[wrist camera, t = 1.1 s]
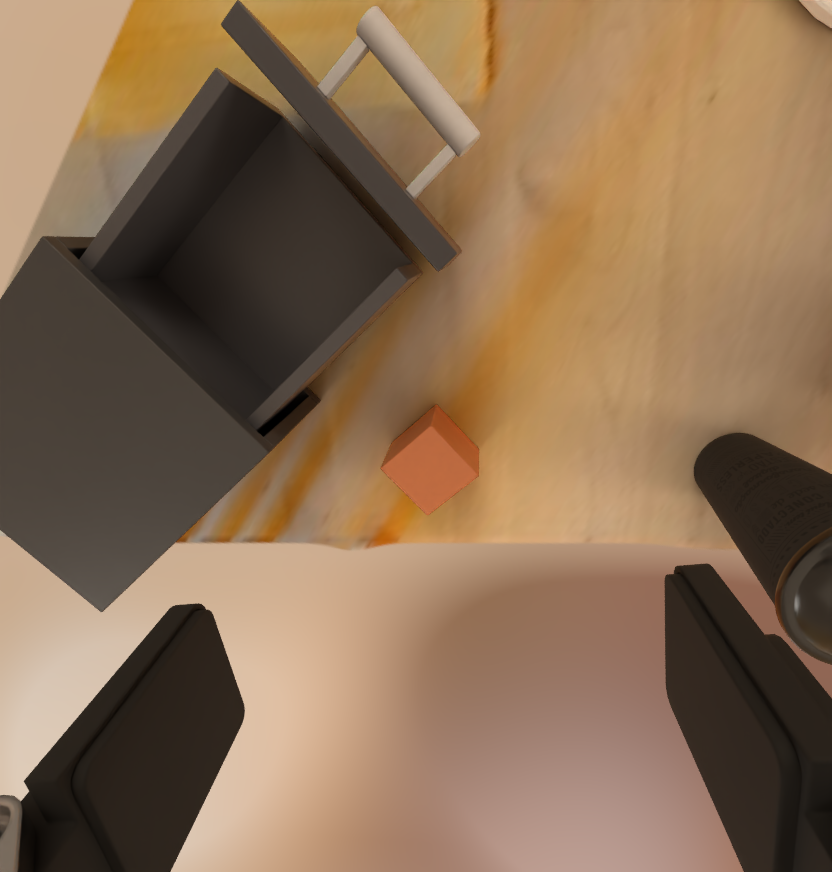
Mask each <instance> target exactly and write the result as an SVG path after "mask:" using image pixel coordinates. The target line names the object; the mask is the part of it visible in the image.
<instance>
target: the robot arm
mask: <svg viewBox="0 0 832 872" xmlns="http://www.w3.org/2000/svg"><path fill="white" fill-rule="evenodd" d="M799 1H800V2H801V3H802V4H803V6H804V7H805V8H806V9H807V10H808V11H809V12H810V13H811V14H812V15H813V16H814V17H815V18H816V19H817V20H819V21H821V22H822V23H824V24H825V25H827V26H829V27H830V28H832V0H799ZM665 655H666V657H665V659H666V690H667V695H668V699H669V702H670V705H671V708H672V710H673V712H674V715H675V717H676V719H677V721H678V724H679V726H680V728H681V730H682V733H683V735H684V737H685V739H686V742H687V744H688V746H689V748H690V751H691V753H692V755H693V758H694V760H695V762H696V764H697V767H698V769H699V771H700V773H701V775H702V778H703V780H704V782H705V785H706V787H707V789H708V791H709V793H710V796H711V798H712V800H713V803H714V805H715V807H716V810H717V812H718V814H719V816H720V818H721V821H722V823H723V825H724V827H725V830H726V832H727V834H728V836H729V839H730V841H731V843H732V846H733V848H734V850H735V852H736V855H737V857H738V859H739V862H740V864H741V866H742V868H743V871H744V872H832V698H831V697H830V696H829V695H828V693H827V692H826V691H825V690H824V688H823V687H822V686H821V685H820V684H819V682H818V681H817V680H816V679H815V677H814V676H813V675H812V674H811V672H810V671H809V670H808V669H807V667H806V666H805V665H804V664H803V663H802V661H801V660H800V659H799V658H798V656H797V655H796V654H795V653H794V651H793V650H792V649H791V648H790V646H789V645H788V644H787V643H786V642H785V641H784V640H783V639H782V638H781V637H779V636H777V635H775V634H770V635H764V633H763V632H762V631H761V629H760V628H759V627H758V626H757V624H756V623H755V622H754V620H752V618H751V617H750V615H749V614H748V613H747V611H746V610H745V609H744V607H743V606H742V605H741V603H740V602H739V601H738V600H737V598H736V597H735V596H734V594H733V593H732V592H731V591H730V589H729V588H728V587H727V585H726V584H725V583H724V581H723V580H722V579H721V577H720V576H719V575H718V574H717V572H716V571H715V570H714V568H713V567H712V566H711V565H709V564H696V565H684V566H676V567H675V570H674V574H669V575H666V577H665ZM244 712H245V710H244V703H243V700H242V697H241V694H240V691H239V688H238V686H237V683H236V680H235V677H234V674H233V671H232V668H231V666H230V662H229V660H228V657H227V654H226V651H225V648H224V645H223V642H222V639H221V637H220V634H219V631H218V628H217V625H216V622H215V619H214V616H213V614H212V612H211V611H210V610H206V609H205V607H204V606H203V605H202V604H187V605H175V606H173V607H171V608H170V609H169V610H168V611H167V613H166V614H165V615H164V616H163V617H162V618H161V620H160V621H159V622H158V623H157V624H156V625H155V627H154V628H153V629H152V630H151V631H150V633H149V634H148V635H147V636H146V637H145V638H144V640H143V641H142V642H141V643H140V644H139V645H138V647H137V648H136V649H135V650H134V651H133V653H132V654H131V655H130V656H129V657H128V659H127V660H126V661H125V662H124V663H123V664H122V666H121V667H120V668H119V669H118V670H117V671H116V673H115V674H114V675H113V676H112V677H111V679H110V680H109V681H108V682H107V683H106V685H105V686H104V687H103V688H102V689H101V690H100V692H99V693H98V694H97V695H96V696H95V698H94V699H93V700H92V701H91V702H90V703H89V705H88V706H87V707H86V708H85V709H84V711H83V712H82V713H81V714H80V715H79V717H78V718H77V719H76V720H75V721H74V722H73V724H72V725H71V726H70V727H69V728H68V729H67V731H66V732H65V733H64V734H63V736H62V737H61V738H60V739H59V740H58V741H57V743H56V744H55V745H54V746H53V747H52V749H51V750H50V751H49V752H48V753H47V754H46V756H45V757H44V758H43V759H42V760H41V761H40V763H39V764H38V765H37V766H36V767H35V769H34V770H33V771H32V772H31V773H30V774H29V776H28V777H27V778H26V779H25V780H24V782H25V784H26V786H27V788H28V789H29V792H28V794H27V795H26V796H25V797H24V799H23V800H22V801H20V800H18V799H17V798H16V797H15V796H9V795H1V796H0V872H170V871H171V869H172V867H173V865H174V863H175V861H176V859H177V857H178V855H179V853H180V850H181V849H182V846H183V845H184V842H185V840H186V838H187V836H188V834H189V832H190V830H191V828H192V826H193V824H194V822H195V820H196V818H197V816H198V814H199V811H200V809H201V807H202V805H203V803H204V801H205V799H206V797H207V795H208V793H209V791H210V789H211V787H212V785H213V783H214V780H215V779H216V776H217V774H218V772H219V770H220V768H221V766H222V764H223V762H224V760H225V758H226V756H227V754H228V752H229V750H230V748H231V746H232V744H233V741H234V739H235V737H236V735H237V733H238V731H239V729H240V727H241V725H242V722H243V719H244Z"/></svg>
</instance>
